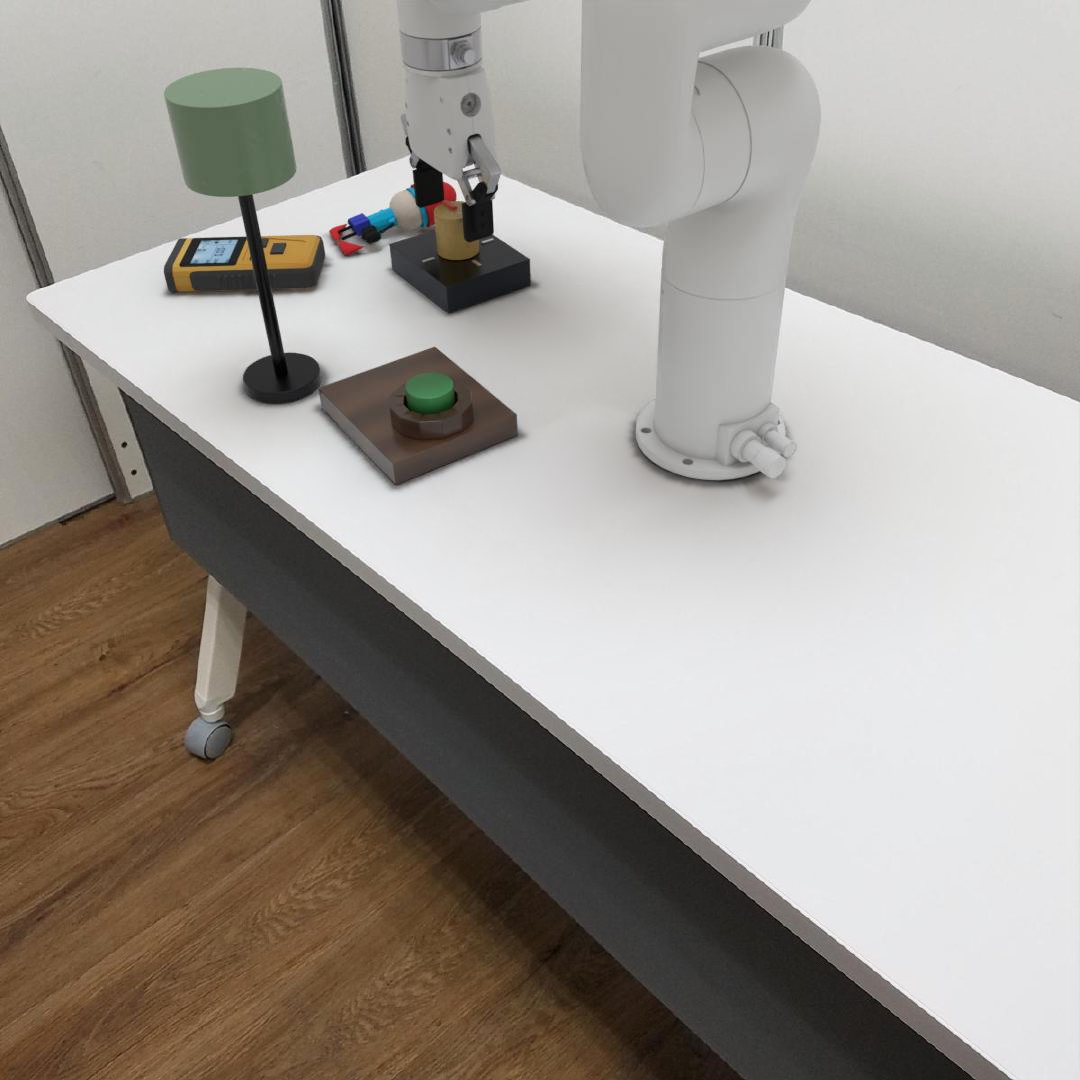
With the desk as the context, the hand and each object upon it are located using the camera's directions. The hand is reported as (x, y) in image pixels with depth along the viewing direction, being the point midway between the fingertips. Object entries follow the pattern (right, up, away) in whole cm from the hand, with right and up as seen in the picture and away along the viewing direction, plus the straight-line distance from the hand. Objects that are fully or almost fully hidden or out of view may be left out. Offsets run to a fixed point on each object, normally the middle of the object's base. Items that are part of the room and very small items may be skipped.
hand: (454, 220), depth 117 cm
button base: (-2, -22, -17) cm, 28 cm away
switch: (0, -21, -21) cm, 30 cm away
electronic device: (-22, -5, +5) cm, 23 cm away
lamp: (-15, -18, -11) cm, 26 cm away
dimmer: (0, -3, +2) cm, 3 cm away
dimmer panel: (0, -5, +4) cm, 6 cm away
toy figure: (-7, +2, +13) cm, 15 cm away
